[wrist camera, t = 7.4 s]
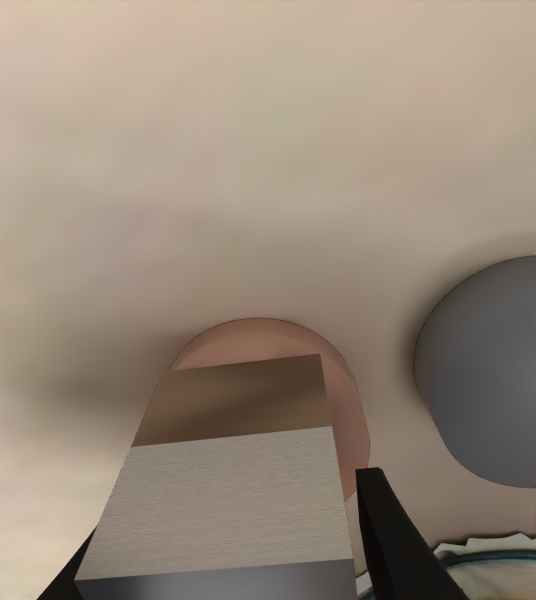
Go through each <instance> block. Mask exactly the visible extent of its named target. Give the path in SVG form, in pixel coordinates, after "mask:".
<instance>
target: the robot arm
mask: <svg viewBox="0 0 536 600" xmlns="http://www.w3.org/2000/svg"><path fill="white" fill-rule="evenodd" d="M355 473H356V486H357V499H358V511H359V523H360V529H361V535H362V541H363V547H364V553H365V558H366V564H367V568H368V572H369V576H370V580H371V583H372V587H373V591H374V595H375V599H376V600H470V599H469V598H468V597H467V595H466V594H465V593H464V592H463V590H462V589H461V588H460V587H459V586H458V584H457V583H456V582H455V581H454V579H453V578H452V577H451V576H450V574H449V573H448V572H447V570H446V569H445V568H444V566H443V565H442V564H441V562H440V561H439V560H438V558H437V557H436V556H435V554H434V553H433V552H432V550H431V549H430V548H429V546H428V545H427V543H426V542H425V540H424V539H423V537H422V536H421V535H420V533H419V532H418V530H417V529H416V527H415V526H414V524H413V523H412V521H411V520H410V518H409V517H408V515H407V514H406V512H405V510H404V509H403V507H402V505H401V504H400V502H399V501H398V499H397V497H396V495H395V494H394V492H393V490H392V488H391V486H390V485H389V483H388V481H387V479H386V477H385V474H384V472H383V470H382V469H380V468H379V467H375V468H364V469H355ZM96 528H97V526H96ZM96 528H95V529H94V530H93V532H92V533H91V534H90V535H89V537H88V538H87V539H86V541H85V542H84V543H83V544H82V546H81V547H80V548H79V549H78V551H77V552H76V553H75V554H74V556H73V557H72V558H71V559H70V561H69V562H68V563H67V564H66V566H65V567H64V568H63V569H62V571H61V572H60V573H59V574H58V575H57V576H56V578H55V579H54V580H53V581H52V582H51V583H50V585H49V586H48V587H47V588H46V589H45V590H44V592H43V593H42V594H41V595H40V596H39V598H38V599H37V600H84V599H83V597H82V595H81V593H80V592H79V590H78V588H77V586H76V584H75V582H74V579H75V577H76V574H77V572H78V570H79V567H80V565H81V563H82V560H83V558H84V556H85V553H86V551H87V549H88V546H89V544H90V542H91V539H92V537H93V535H94V532H95V530H96Z"/></svg>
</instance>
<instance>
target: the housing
mask: <svg viewBox="0 0 536 600" xmlns="http://www.w3.org/2000/svg"><path fill="white" fill-rule="evenodd" d="M74 582H75V584H76V586H77V588H78V590H79V592H80V593H81V595H82V597H83V599H84V600H358V596H357V586H356V577H355V568H354V559H353V553H352V546H351V540H350V534H349V528H348V522H347V516H346V510H345V503H344V497H343V491H342V485H341V479H340V473H339V467H338V460H337V454H336V448H335V442H334V436H333V430H332V424H331V417H330V411H329V405H328V399H327V393H326V387H325V381H324V374H323V368H322V362H321V356H320V353H318V354H310V355H302V356H293V357H285V358H276V359H269V360H260V361H252V362H243V363H235V364H226V365H218V366H210V367H200V368H192V369H183V370H175V371H167V372H163V373H162V376H161V378H160V380H159V383H158V385H157V387H156V390H155V392H154V394H153V397H152V399H151V401H150V404H149V406H148V408H147V411H146V413H145V415H144V418H143V420H142V422H141V425H140V427H139V429H138V432H137V434H136V437H135V439H134V441H133V444H132V446H131V448H130V451H129V453H128V455H127V458H126V460H125V462H124V465H123V467H122V469H121V472H120V474H119V476H118V479H117V481H116V483H115V486H114V488H113V490H112V493H111V495H110V497H109V500H108V502H107V504H106V507H105V509H104V511H103V514H102V516H101V518H100V521H99V523H98V525H97V528H96V530H95V532H94V535H93V537H92V539H91V542H90V544H89V546H88V549H87V551H86V553H85V556H84V558H83V560H82V563H81V565H80V567H79V570H78V572H77V574H76V577H75V579H74Z"/></svg>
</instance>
